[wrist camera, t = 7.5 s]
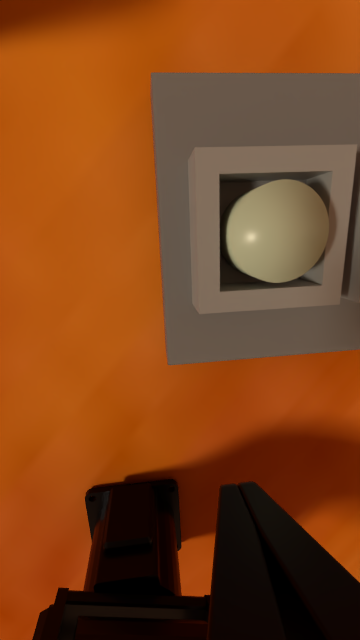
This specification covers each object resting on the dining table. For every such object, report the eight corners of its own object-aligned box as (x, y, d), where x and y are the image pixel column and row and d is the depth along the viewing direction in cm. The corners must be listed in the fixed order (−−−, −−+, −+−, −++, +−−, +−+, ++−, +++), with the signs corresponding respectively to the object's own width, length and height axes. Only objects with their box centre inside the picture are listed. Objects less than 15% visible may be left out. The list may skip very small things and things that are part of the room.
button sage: (294, 272, 16) (324, 279, 13) (218, 276, 16) (233, 285, 13) (300, 188, 15) (334, 177, 12) (217, 190, 14) (233, 180, 12)
